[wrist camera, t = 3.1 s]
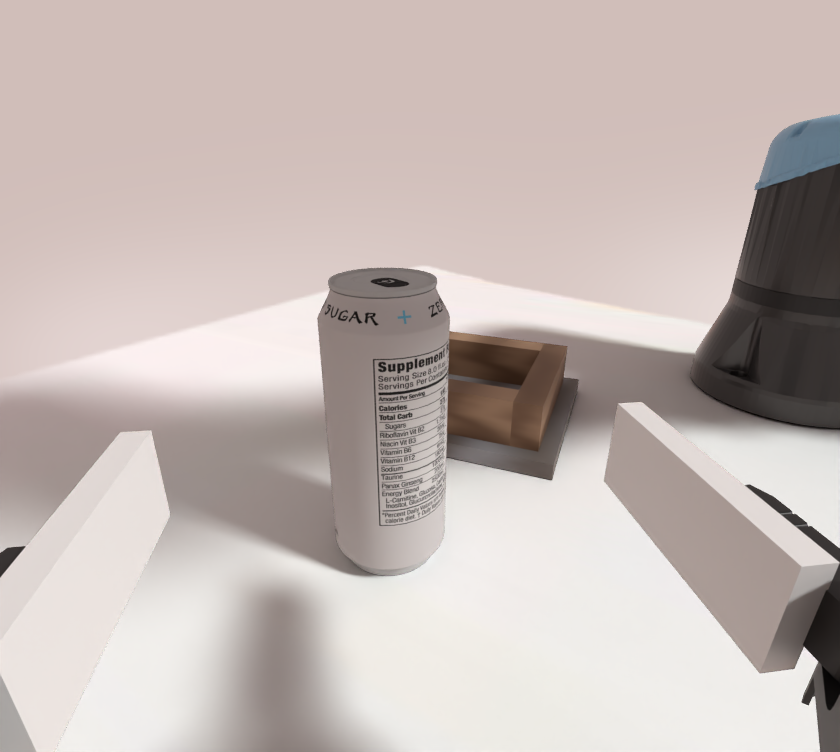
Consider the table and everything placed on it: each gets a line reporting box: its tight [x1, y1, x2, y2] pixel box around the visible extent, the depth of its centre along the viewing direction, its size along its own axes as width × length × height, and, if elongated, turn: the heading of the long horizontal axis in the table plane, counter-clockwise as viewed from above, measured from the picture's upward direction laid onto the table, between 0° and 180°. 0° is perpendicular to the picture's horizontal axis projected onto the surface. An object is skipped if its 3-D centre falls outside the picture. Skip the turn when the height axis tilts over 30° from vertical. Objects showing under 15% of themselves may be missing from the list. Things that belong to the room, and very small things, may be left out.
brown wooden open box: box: [446, 331, 579, 480], centre depth 42 cm, size 15×15×5 cm
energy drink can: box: [317, 268, 450, 576], centre depth 25 cm, size 6×6×15 cm
